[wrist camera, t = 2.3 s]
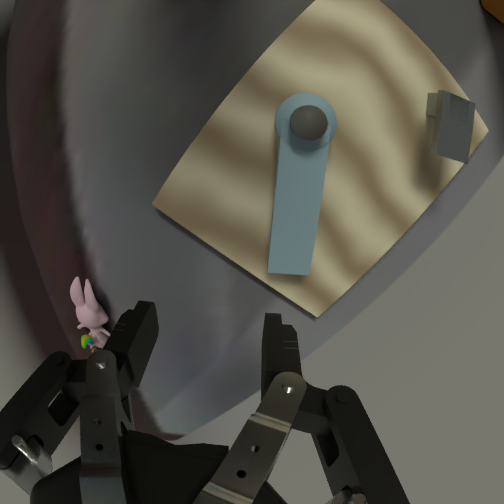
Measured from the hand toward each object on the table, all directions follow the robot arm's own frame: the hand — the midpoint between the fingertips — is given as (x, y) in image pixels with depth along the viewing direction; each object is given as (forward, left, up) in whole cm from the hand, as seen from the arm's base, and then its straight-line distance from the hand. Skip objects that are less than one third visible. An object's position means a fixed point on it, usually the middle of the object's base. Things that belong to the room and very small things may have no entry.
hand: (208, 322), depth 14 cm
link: (+6, +3, -15) cm, 17 cm away
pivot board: (+9, +7, -17) cm, 21 cm away
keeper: (+19, +11, -16) cm, 27 cm away
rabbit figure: (-19, -16, -18) cm, 31 cm away
